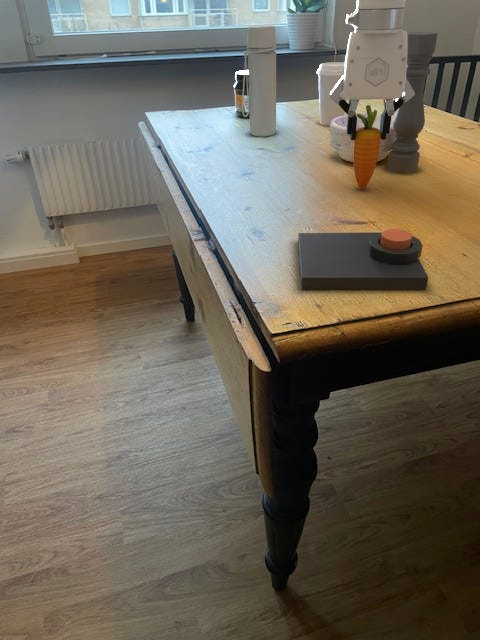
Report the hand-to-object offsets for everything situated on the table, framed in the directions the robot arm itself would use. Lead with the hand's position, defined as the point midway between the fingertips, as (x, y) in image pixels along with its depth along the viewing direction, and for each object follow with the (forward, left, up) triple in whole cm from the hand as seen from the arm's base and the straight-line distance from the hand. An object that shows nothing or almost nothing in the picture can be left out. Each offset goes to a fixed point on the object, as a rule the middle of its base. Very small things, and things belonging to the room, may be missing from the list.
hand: (367, 137), depth 91 cm
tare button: (0, +31, -7) cm, 32 cm away
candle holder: (-10, -12, -10) cm, 19 cm away
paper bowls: (-3, -21, -10) cm, 23 cm away
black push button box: (+5, +31, -10) cm, 33 cm away
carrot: (0, 0, -10) cm, 10 cm away
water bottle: (+21, -44, -10) cm, 50 cm away
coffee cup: (+1, -55, -10) cm, 56 cm away
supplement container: (+24, -68, -10) cm, 73 cm away
